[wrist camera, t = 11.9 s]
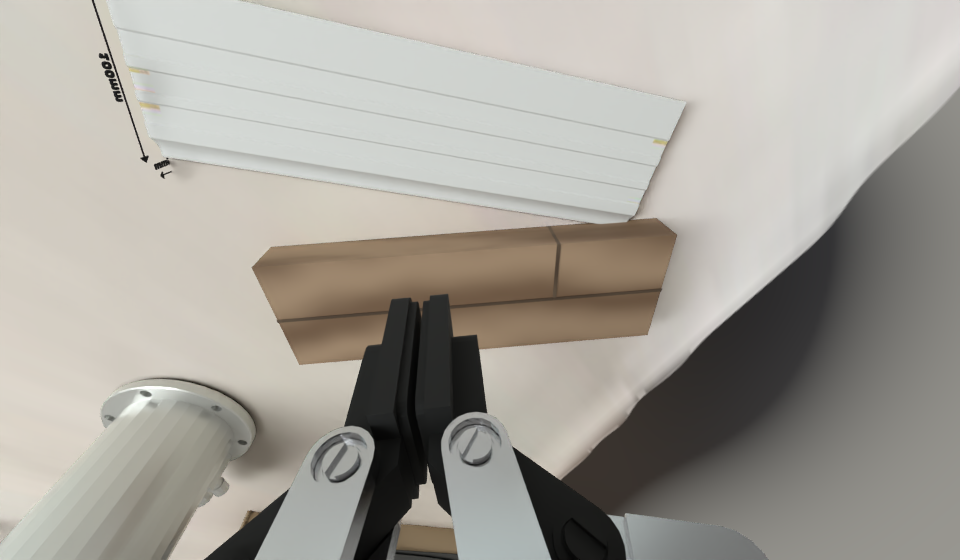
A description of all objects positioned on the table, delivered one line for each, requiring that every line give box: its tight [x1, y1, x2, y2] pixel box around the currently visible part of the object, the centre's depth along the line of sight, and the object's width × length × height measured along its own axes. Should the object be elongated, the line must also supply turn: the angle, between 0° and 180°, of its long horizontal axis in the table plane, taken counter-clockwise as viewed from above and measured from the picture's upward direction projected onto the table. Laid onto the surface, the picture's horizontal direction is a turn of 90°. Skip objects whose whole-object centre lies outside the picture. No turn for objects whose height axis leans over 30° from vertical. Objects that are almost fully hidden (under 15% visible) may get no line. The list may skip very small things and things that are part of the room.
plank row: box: [252, 218, 677, 365], centre depth 26 cm, size 9×28×3 cm, turn 93°
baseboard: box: [92, 0, 686, 224], centre depth 20 cm, size 30×3×10 cm
